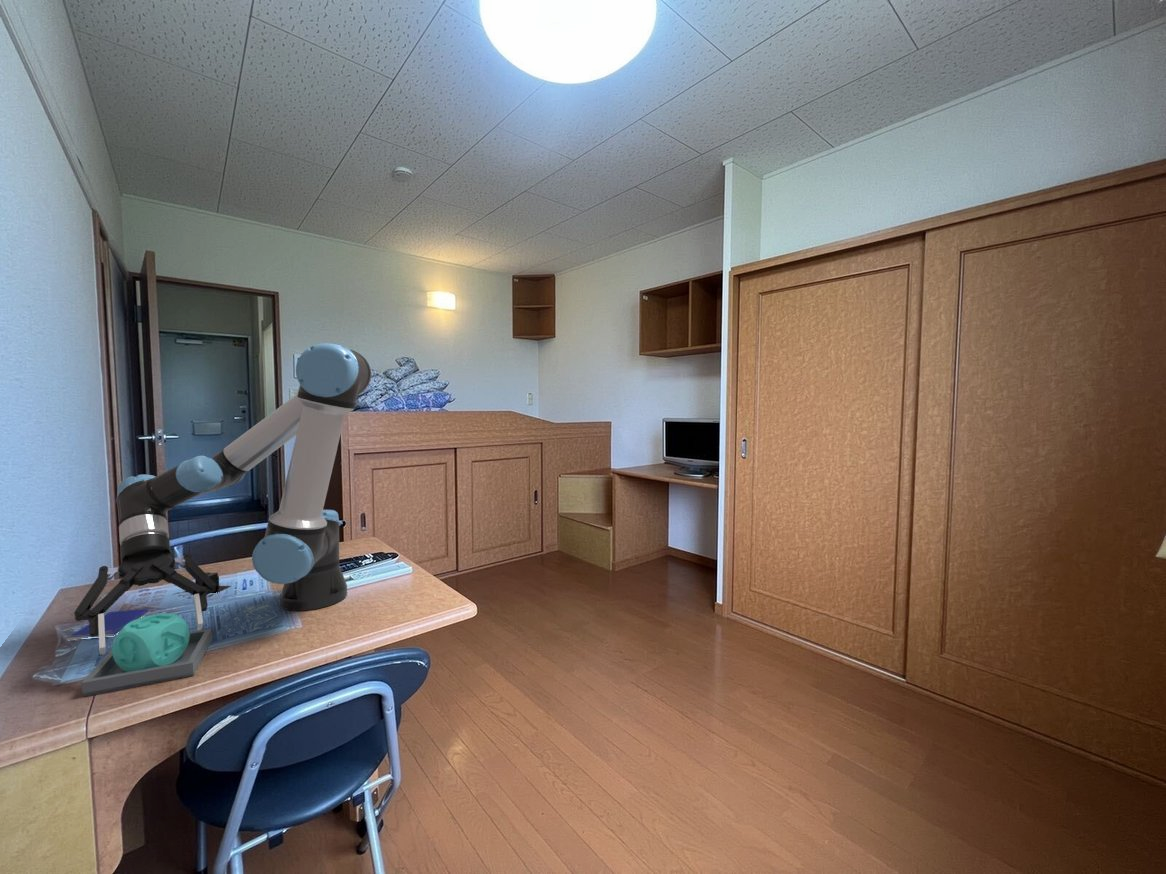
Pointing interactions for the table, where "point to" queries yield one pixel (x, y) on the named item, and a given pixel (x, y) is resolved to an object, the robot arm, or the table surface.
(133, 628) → the decorative dice
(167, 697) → the table surface
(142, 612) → the purple flat rectangle
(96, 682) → the tray
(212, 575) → the black boxy piece
